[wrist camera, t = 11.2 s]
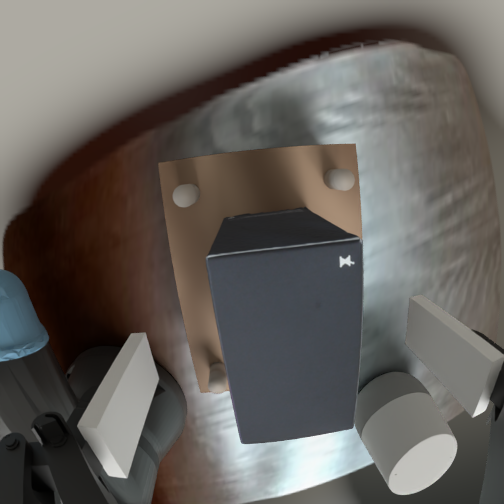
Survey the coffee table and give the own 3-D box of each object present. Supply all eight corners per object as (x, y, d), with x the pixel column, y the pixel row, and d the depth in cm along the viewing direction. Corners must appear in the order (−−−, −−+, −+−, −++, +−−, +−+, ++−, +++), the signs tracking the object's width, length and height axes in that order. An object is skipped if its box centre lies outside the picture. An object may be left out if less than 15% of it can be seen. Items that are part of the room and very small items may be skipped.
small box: (216, 216, 21) (195, 251, 11) (309, 205, 21) (369, 229, 11) (236, 350, 24) (237, 450, 13) (317, 338, 24) (359, 429, 14)
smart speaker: (423, 360, 32) (483, 429, 19) (401, 414, 34) (444, 485, 21) (356, 367, 32) (407, 455, 18) (339, 423, 34) (371, 508, 20)
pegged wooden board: (206, 357, 30) (197, 411, 22) (175, 166, 26) (147, 161, 18) (340, 339, 31) (368, 387, 22) (331, 150, 26) (369, 140, 18)
